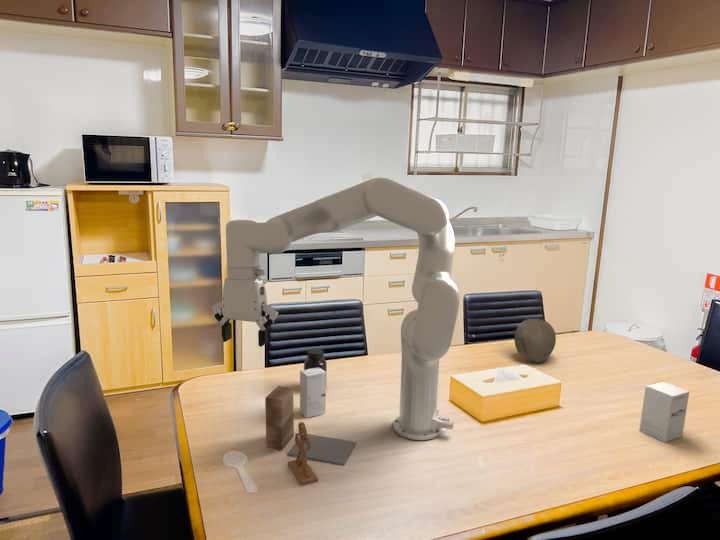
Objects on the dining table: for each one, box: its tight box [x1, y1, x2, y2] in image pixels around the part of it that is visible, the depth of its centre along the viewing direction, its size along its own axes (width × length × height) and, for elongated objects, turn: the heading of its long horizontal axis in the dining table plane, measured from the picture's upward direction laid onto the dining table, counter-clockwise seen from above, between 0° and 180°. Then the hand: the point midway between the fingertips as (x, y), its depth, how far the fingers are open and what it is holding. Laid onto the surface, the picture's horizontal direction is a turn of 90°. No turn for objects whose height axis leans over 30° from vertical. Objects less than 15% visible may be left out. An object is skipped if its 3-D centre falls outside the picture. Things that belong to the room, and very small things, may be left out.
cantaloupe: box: [514, 318, 557, 363], centre depth 185 cm, size 14×14×15 cm
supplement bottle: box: [303, 348, 328, 373], centre depth 158 cm, size 7×7×12 cm
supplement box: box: [639, 381, 690, 443], centre depth 135 cm, size 7×7×13 cm
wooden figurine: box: [287, 421, 319, 487], centre depth 114 cm, size 9×4×12 cm, turn 27°
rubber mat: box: [286, 433, 357, 466], centre depth 125 cm, size 14×10×1 cm
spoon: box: [222, 450, 259, 494], centre depth 116 cm, size 5×18×1 cm, turn 29°
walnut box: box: [264, 385, 295, 451], centre depth 127 cm, size 4×7×13 cm, turn 164°
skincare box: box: [299, 367, 327, 419], centre depth 143 cm, size 6×4×12 cm
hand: (244, 342), depth 126 cm, fingers open, 9 cm apart
